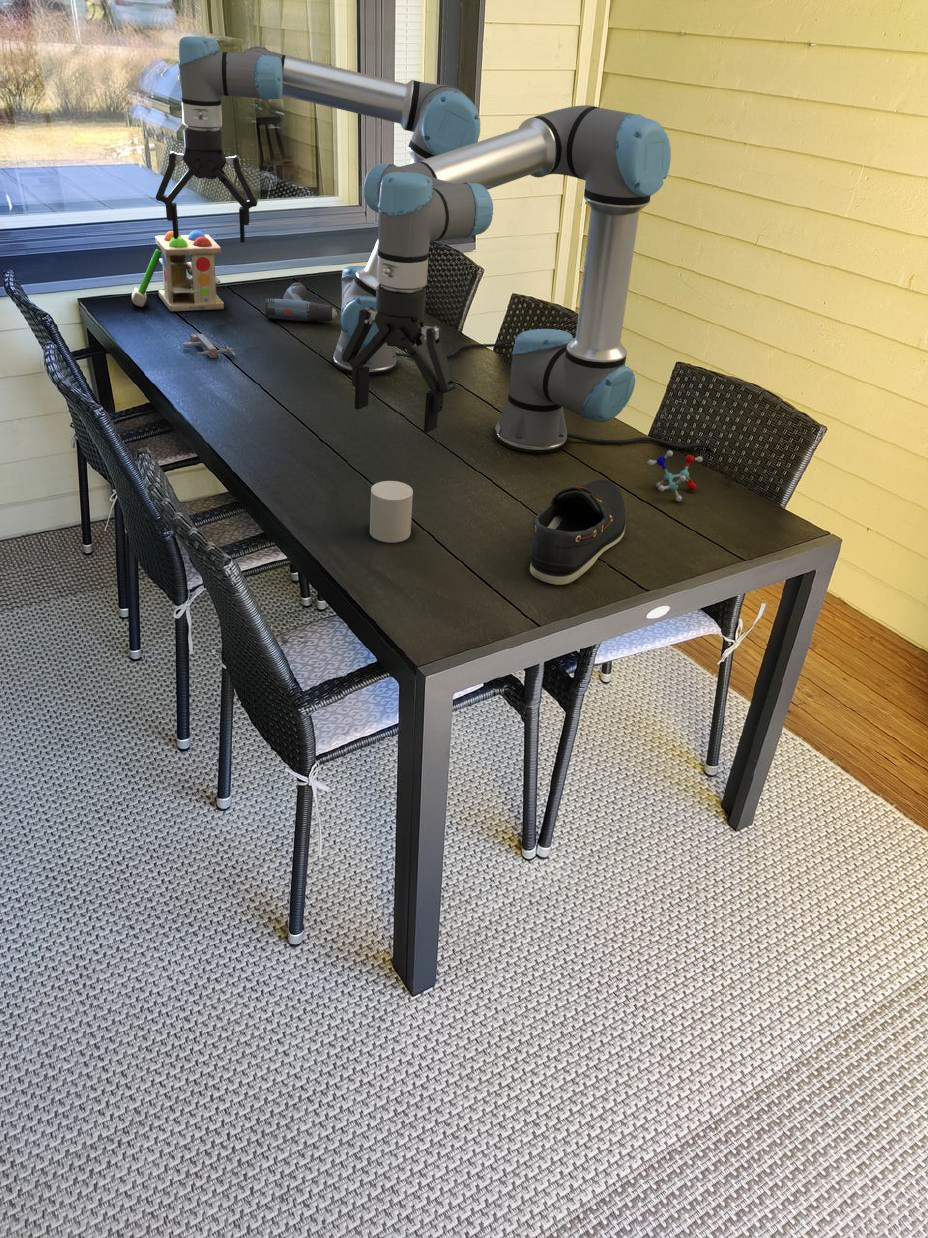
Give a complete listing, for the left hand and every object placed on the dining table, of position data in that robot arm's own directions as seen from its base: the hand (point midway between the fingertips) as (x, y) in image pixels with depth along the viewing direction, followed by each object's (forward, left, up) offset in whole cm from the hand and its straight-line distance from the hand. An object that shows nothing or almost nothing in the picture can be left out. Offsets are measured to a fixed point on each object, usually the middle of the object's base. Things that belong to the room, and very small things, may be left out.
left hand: (209, 239), depth 206 cm
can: (+12, +77, -30) cm, 84 cm away
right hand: (+12, +77, -9) cm, 79 cm away
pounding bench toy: (-19, -52, -30) cm, 63 cm away
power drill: (-45, -30, -30) cm, 62 cm away
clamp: (-7, -15, -30) cm, 35 cm away
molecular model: (-44, +96, -30) cm, 110 cm away
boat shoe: (-13, +99, -30) cm, 104 cm away
